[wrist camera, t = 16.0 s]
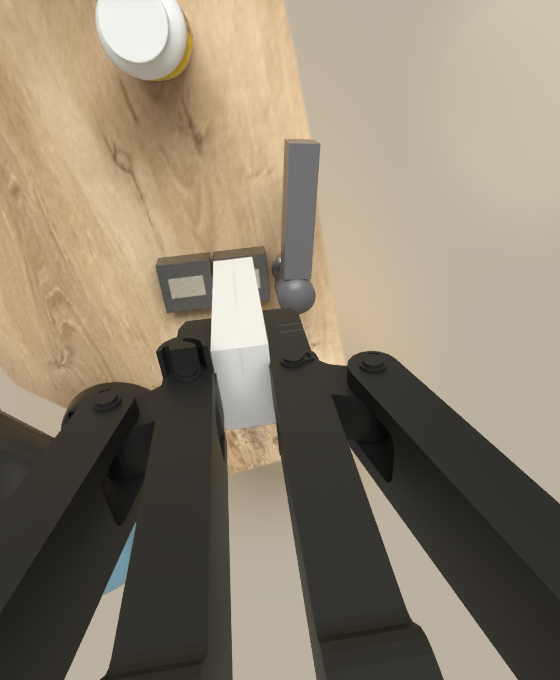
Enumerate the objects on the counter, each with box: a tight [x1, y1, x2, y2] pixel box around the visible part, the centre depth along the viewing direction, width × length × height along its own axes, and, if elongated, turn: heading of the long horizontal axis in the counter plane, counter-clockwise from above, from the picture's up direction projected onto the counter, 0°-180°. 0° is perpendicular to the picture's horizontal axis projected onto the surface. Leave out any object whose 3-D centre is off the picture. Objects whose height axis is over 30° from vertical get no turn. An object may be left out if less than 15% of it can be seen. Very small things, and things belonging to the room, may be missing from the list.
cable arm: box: [275, 139, 320, 314], centre depth 45 cm, size 17×4×4 cm, turn 178°
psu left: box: [156, 253, 213, 313], centre depth 52 cm, size 6×6×3 cm
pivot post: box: [272, 255, 282, 278], centre depth 52 cm, size 4×4×5 cm
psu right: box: [213, 246, 270, 302], centre depth 52 cm, size 6×6×3 cm
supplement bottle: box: [95, 0, 193, 81], centre depth 35 cm, size 7×7×13 cm
